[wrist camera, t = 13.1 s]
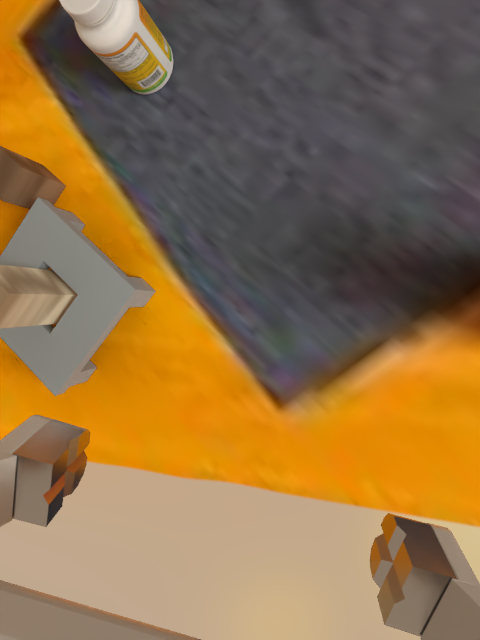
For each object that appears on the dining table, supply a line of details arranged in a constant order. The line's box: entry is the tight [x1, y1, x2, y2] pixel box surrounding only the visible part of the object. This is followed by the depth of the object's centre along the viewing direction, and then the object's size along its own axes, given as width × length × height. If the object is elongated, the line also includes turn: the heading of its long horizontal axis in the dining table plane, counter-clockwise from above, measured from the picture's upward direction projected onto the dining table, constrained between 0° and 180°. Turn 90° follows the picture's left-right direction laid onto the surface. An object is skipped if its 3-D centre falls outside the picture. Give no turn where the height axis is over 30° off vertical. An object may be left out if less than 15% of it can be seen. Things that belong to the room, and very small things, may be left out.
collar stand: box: [0, 197, 156, 396], centre depth 37 cm, size 13×13×4 cm
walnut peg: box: [0, 146, 65, 209], centre depth 37 cm, size 4×4×6 cm
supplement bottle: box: [60, 0, 173, 94], centre depth 31 cm, size 5×5×10 cm
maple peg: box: [0, 265, 78, 329], centre depth 34 cm, size 4×4×11 cm
